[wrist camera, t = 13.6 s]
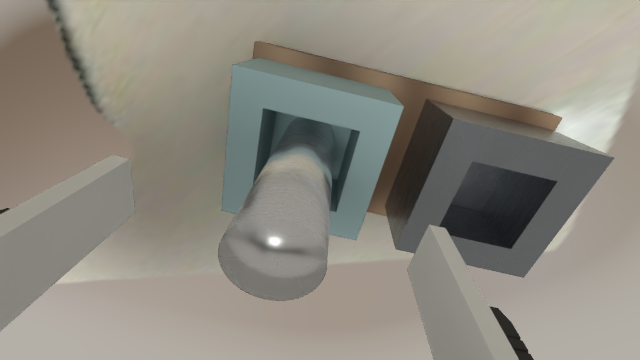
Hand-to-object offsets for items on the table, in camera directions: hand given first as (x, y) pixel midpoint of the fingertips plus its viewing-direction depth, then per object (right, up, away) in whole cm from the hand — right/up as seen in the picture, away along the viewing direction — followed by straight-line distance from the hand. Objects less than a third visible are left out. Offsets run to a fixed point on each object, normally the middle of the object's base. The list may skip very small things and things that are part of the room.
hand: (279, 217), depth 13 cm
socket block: (+14, +2, +12) cm, 18 cm away
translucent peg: (+1, +5, +10) cm, 11 cm away
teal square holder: (+1, +5, +11) cm, 12 cm away
